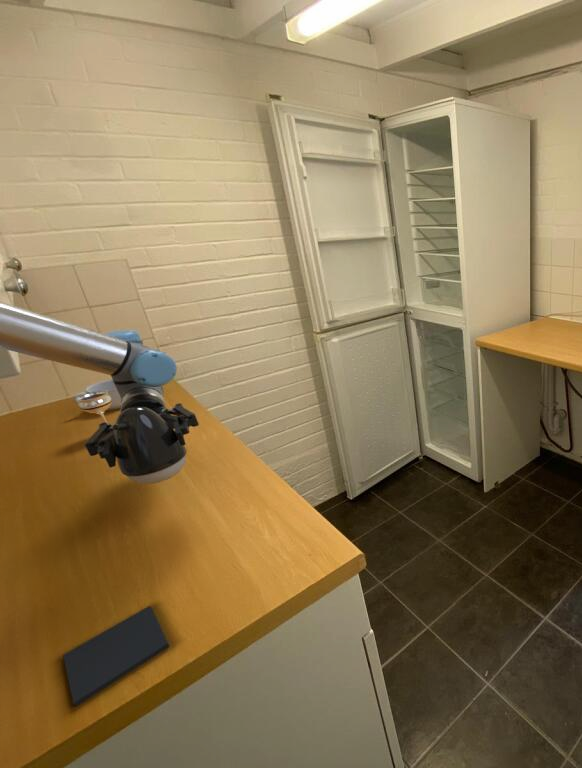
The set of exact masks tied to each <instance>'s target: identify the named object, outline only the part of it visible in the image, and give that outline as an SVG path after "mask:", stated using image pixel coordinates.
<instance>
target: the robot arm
mask: <svg viewBox="0 0 582 768" xmlns="http://www.w3.org/2000/svg"><path fill="white" fill-rule="evenodd" d="M143 341H144V340H143V339H142V338H141V337H140V334H139V333H138V332H137V331H135V330H133V329H121V330H114V331H110V332H105V333H102V332H99V331H95V330H92V329H89V328H86V327H84V326H79V325H76V324H73V323H71V322H67V321H63V320H61V319H58V318H54V317H52V316H48V315H45V314H42V313H38V312H35V311H31V310H29V309H25V308H22V307H19V306H16V305H12V304H11V303H10V304H9V303H6V302H3V301H0V345H1V346H2V347H4V348H6V349H7V351H11V352H14V353H19V354H23V355H26V356H31V357H35V358H38V359H43V360H48V361H51V362H56V363H59V364H64V365H68V366H71V367H75V368H80V369H84V370H88V371H92V372H95V373H99V374H104V375H109V376H110V377H111V379H113V382H114V384H115V386H116V388H117V391H118V393H119V395H120V397H121V408H120V413H121V412H123V411H124V410H126V409H128V408H131V407H146V408H148V409H150V410H152V411H154V412H155V413H157V414H158V415H159V416H161V417H162V418H163V419H164V420H165V421H166V422H167V423H168V424H169V425H170V426H171V427H172V428H173V430H174V431H175V433H176V436H177V438H178V441H179V443H180V445H181V446H182V445H185V446H186V441H185V435H188V434H190V427H193V428H195V427H198V426H199V425H200V422H199V421H198V419H197V416H196V413H194V412H193V411H190V410H189V409H187V408H185V407H184V406H183V404H182V403H179V402H178V403H176V404H175V405H174V406H172V407H171V408H167V407H166V402H165V398H164V394H165V391H164V389H163V386H165V385H167V384H169V383H170V382H172V381H173V380H174V378H175V377H176V375H177V371H178V370H177V369H178V367H177V364H176V361H175V360H174V359H173V357H171V356H170V355H168V354H167V353H166V352H164V351H161V350H157V349H154V348H151V347H149V346H146V345H144V343H143ZM6 349H5V350H6ZM120 413H119V414H120ZM107 423H108V422H107ZM107 423H106V422H104V421H103V422H101V423H99V424H98V429H97V430H95V432H94V433H93V434H92V435H91V436H90V438H89V439H88V440H87V441H86V442H85V443H84V445H83V446H84V447H85V449H86V451H87V453H88V455H89V456H90V457H94V456H97V455H98V456H99V458H100V459H101V460H103V459H105V461H106V463H107V465H108V467H109V469H110V468H113V467H114V468H115V467H116V464H117V463H116V462H117V458H116V453H115V446H114V429H113V428H112V427H113V425H114V424H115V423H110V422H109V423H108V424H107Z"/></svg>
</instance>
